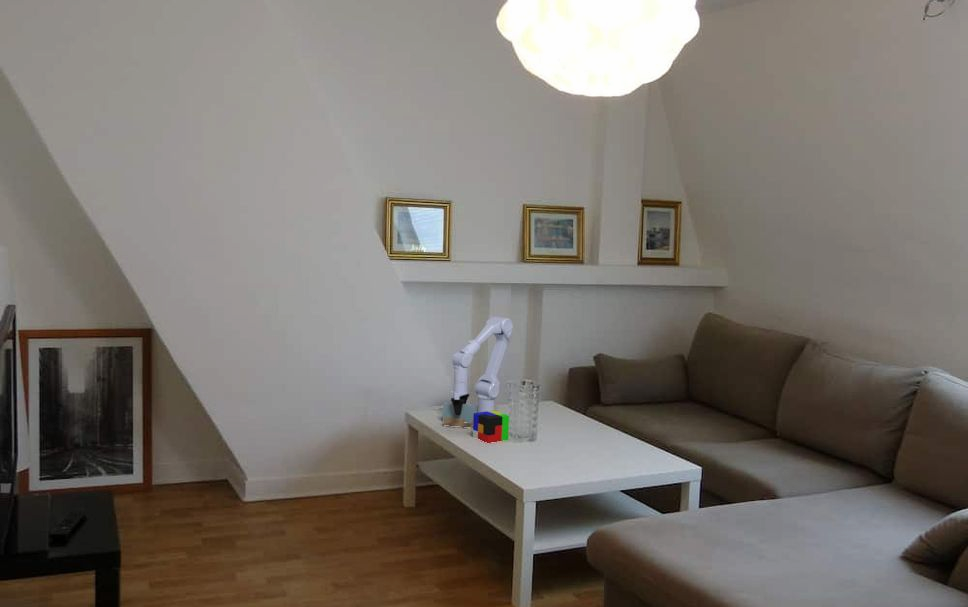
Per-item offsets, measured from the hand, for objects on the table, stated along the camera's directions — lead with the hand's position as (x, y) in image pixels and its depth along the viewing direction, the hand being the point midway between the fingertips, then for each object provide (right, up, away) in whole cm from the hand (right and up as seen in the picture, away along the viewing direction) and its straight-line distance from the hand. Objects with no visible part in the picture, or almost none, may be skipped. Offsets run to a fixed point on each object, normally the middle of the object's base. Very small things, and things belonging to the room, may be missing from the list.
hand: (459, 413), depth 383 cm
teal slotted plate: (0, -4, +1) cm, 4 cm away
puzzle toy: (+13, -8, -23) cm, 27 cm away
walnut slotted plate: (+3, -5, -7) cm, 10 cm away
